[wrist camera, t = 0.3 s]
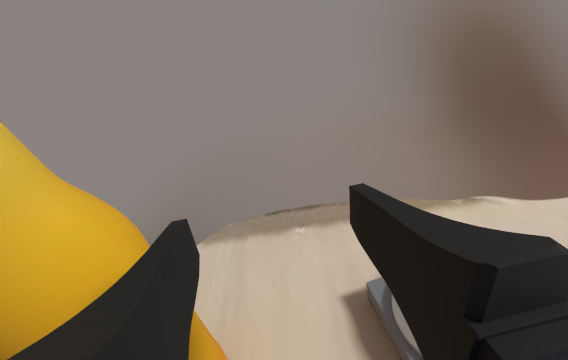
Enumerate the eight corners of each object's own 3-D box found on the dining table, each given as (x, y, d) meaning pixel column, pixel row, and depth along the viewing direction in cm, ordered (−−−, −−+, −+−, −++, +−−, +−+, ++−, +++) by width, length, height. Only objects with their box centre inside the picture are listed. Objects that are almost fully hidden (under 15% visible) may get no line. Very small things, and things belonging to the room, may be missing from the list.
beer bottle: (166, 344, 31) (-68, 78, 16) (245, 345, 29) (62, 38, 14) (114, 458, 24) (-422, 164, 8) (215, 472, 22) (-259, 107, 6)
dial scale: (614, 398, 20) (657, 351, 16) (455, 459, 19) (465, 424, 16) (472, 261, 31) (480, 216, 27) (368, 297, 30) (362, 255, 27)
